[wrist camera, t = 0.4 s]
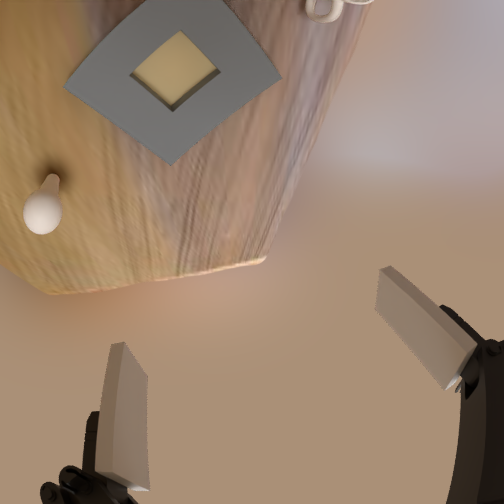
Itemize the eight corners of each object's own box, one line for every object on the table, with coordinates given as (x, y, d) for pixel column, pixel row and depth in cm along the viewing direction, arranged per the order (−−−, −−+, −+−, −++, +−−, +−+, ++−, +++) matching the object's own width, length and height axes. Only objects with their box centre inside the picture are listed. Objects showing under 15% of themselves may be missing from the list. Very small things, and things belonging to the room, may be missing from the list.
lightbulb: (34, 162, 29) (13, 211, 22) (69, 159, 31) (54, 207, 25) (40, 194, 33) (25, 245, 27) (72, 191, 36) (62, 242, 29)
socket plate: (68, 81, 23) (62, 87, 21) (188, -28, 17) (192, -32, 15) (168, 155, 38) (170, 165, 37) (273, 72, 33) (282, 78, 31)
